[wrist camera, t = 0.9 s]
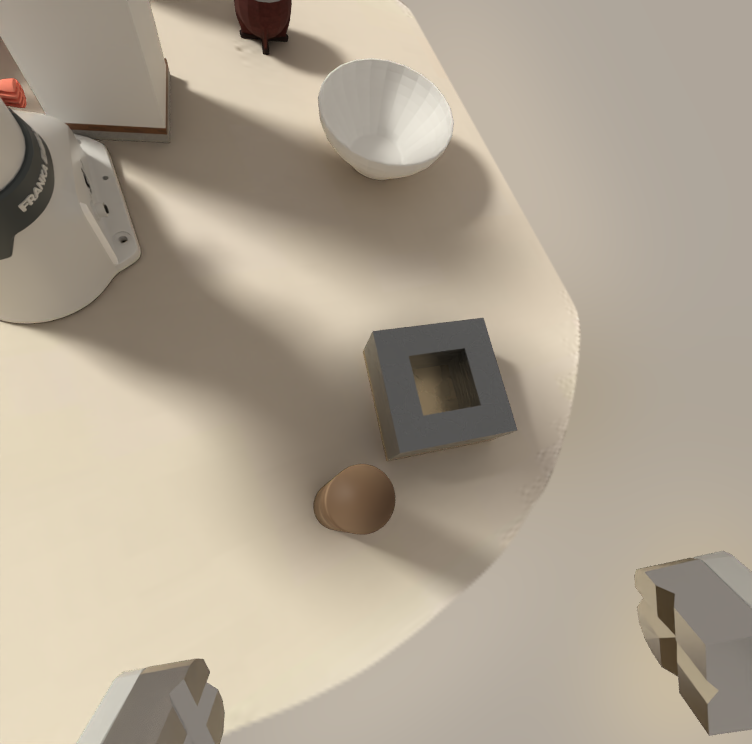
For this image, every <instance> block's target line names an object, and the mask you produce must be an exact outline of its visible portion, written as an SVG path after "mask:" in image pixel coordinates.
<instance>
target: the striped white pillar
mask: <svg viewBox="0 0 752 744" xmlns="http://www.w3.org/2000/svg"><path fill="white" fill-rule="evenodd" d="M0 37H1V38H2V40H3V42H4V43H5V45H6V47H7V49H8V50H9V52H10V54H11V55H12V57H13V59H14V61H15V62H16V64H17V66H18V67H19V69H20V71H21V72H22V74H23V76H24V78H25V79H26V81H27V83H28V84H29V86H30V88H31V90H32V91H33V93H34V95H35V96H36V98H37V100H38V102H39V103H40V105H41V107H42V108H43V110H44V112H45V113H46V115H48V116H52V117H54V118H57V119H59V120H60V121H62V122H64V123H65V124H66V125H68V126H69V128H70V129H71V131H72V132H73V134H77V135H81V136H85V137H88V138H91V139H102V140H124V141H145V142H166V143H170V72H169V68H168V64H167V60H166V58H164V56H163V52H162V48H161V44H160V40H159V37H158V33H157V29H156V25H155V21H154V17H153V13H152V9H151V6H150V2H149V0H0Z"/></svg>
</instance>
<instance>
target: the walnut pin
mask: <svg viewBox="0 0 752 744" xmlns="http://www.w3.org/2000/svg"><path fill="white" fill-rule="evenodd" d="M394 506H395V492H394V488H393V485H392V483H391V481H390V479H389V478H388V477H387V475H386V474H385V473H384V472H382V471H381V470H380V469H378V468H376V467H374V466H371V465H367V464H357V465H353V466H350V467H348V468H346V469H344V470H343V471H341V472H340V473H339V474H338V475H337V476H335V477H334V478H333V479H332V480H331V481H329V482H328V483H327V484H326V485H325V486H323V487H322V488H321V489H320V490H319V492H318V493H317V495H316V497H315V500H314V513H315V516H316V518H317V520H318V521H319V522H320V523H321V524H322V525H323V526H325V527H327V528H329V529H333V530H338V531H343V532H349V533H354V534H370V533H373V532H375V531H377V530H379V529H380V528H382V527H383V526H384V525H385V524H386V523H387V522H388V520H389V519H390V517H391V515H392V513H393V510H394Z"/></svg>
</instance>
